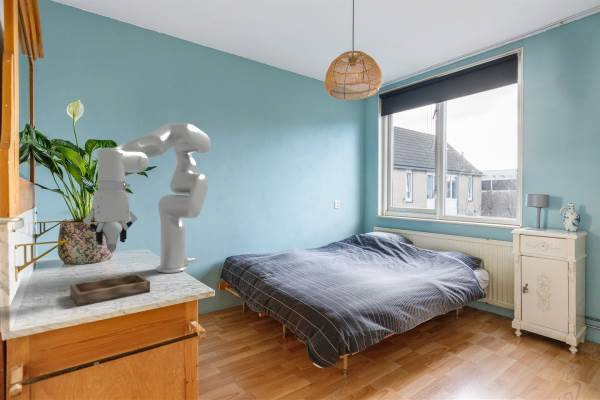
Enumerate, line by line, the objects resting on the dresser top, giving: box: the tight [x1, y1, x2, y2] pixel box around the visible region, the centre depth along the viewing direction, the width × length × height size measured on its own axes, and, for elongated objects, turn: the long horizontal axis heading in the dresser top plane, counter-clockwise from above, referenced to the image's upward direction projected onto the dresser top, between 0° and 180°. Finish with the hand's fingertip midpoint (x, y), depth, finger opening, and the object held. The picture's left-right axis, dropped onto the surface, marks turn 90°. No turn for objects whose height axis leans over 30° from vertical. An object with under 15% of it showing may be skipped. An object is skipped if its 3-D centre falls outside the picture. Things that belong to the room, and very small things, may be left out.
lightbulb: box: [101, 221, 123, 253], centre depth 102 cm, size 6×6×11 cm
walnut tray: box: [69, 273, 151, 307], centre depth 102 cm, size 20×12×4 cm, turn 134°
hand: (111, 242), depth 102 cm, fingers closed on lightbulb, 5 cm apart
